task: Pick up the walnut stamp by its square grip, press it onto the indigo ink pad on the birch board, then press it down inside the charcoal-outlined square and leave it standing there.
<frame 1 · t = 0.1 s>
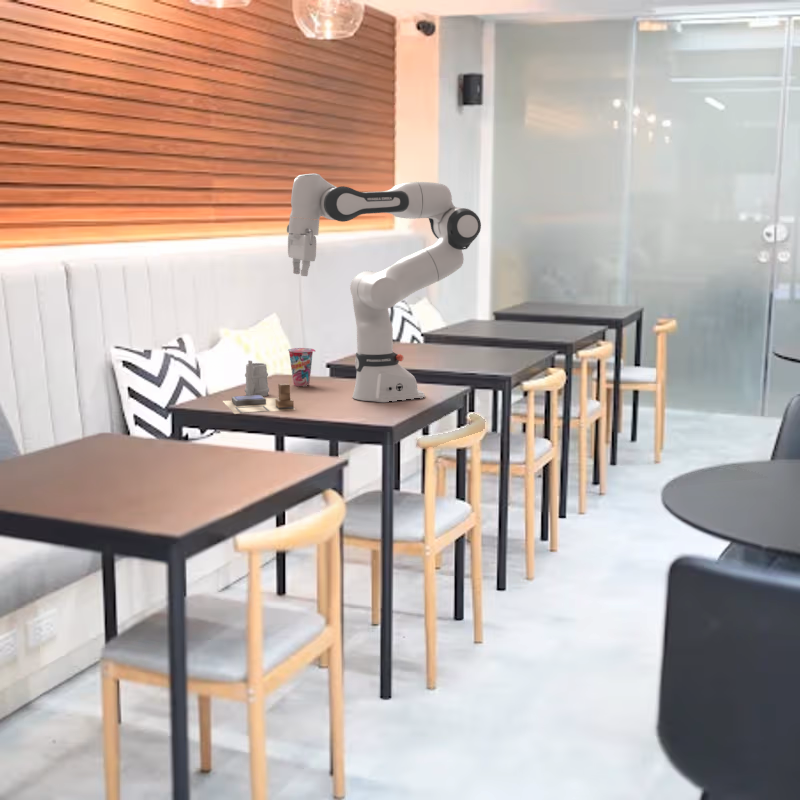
hand: (300, 275, 333), 39 cm above the table, tool pointing down, fingers open, 8 cm apart
cup: (302, 385, 370), on the table
board: (258, 408, 330), on the table
mug: (255, 397, 350), on the table
stamp: (284, 407, 326), point 1 cm above the table, touching board
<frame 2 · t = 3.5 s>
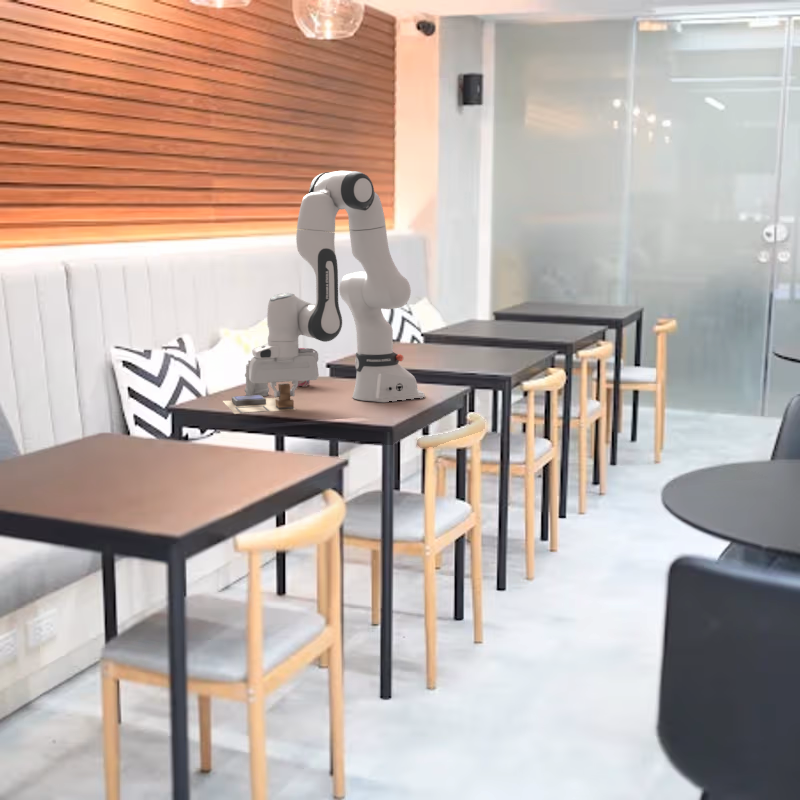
hand: (284, 396, 325), 4 cm above the table, tool pointing down, fingers closed on stamp, 3 cm apart
stamp: (284, 407, 326), point 1 cm above the table, touching board, gripper
everything else where it was.
when the fingers open (4 cm above the table, at t = 11.3 s): stamp stays where it is, resting on board.
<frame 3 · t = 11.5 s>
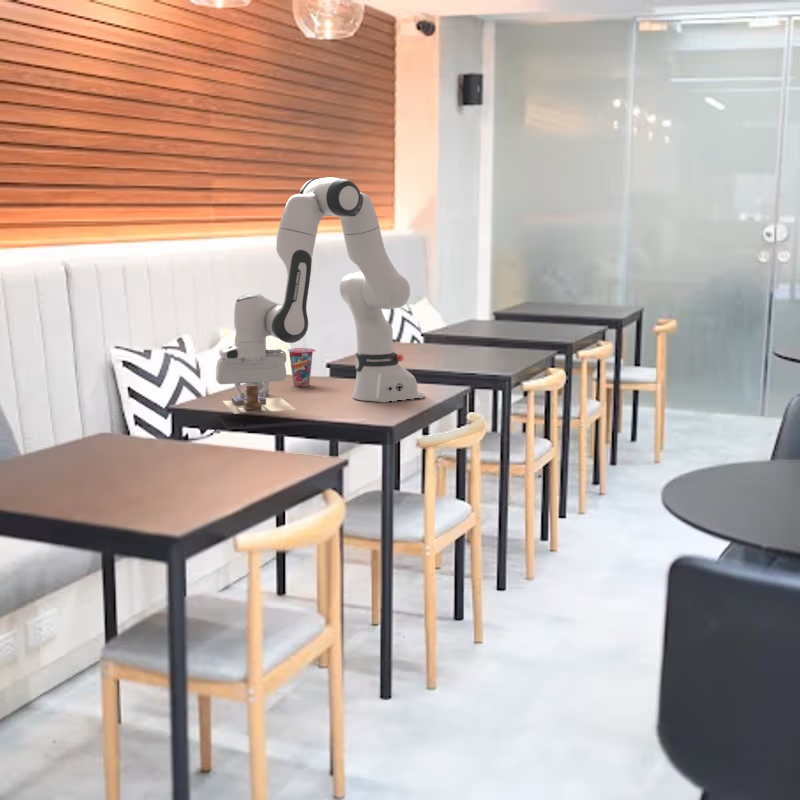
hand: (252, 397, 323), 4 cm above the table, tool pointing down, fingers open, 5 cm apart
stamp: (252, 409, 323), point 1 cm above the table, touching board
everything else where it was.
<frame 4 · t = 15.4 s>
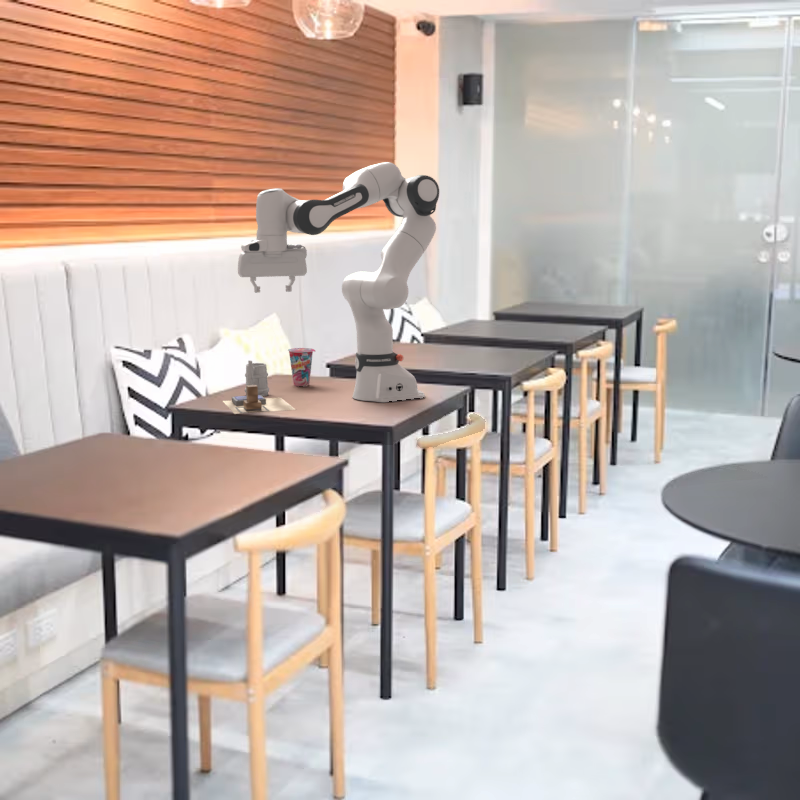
hand: (273, 292, 329), 34 cm above the table, tool pointing down, fingers open, 8 cm apart
nothing on the table moved.
at the end: stamp 0.1 cm from the target spot, point 1.0 cm above the table; stamp tilted 0°; the gripper is holding nothing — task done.
